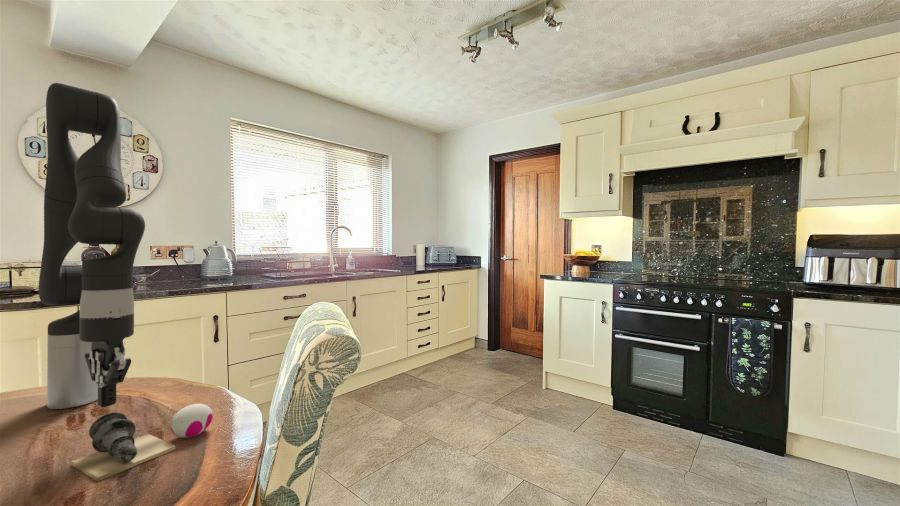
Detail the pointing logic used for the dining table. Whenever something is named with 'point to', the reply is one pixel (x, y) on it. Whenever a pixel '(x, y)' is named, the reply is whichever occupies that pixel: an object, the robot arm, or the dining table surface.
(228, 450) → the dining table surface
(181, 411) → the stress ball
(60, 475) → the dining table surface
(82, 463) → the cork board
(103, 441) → the grey chess piece
